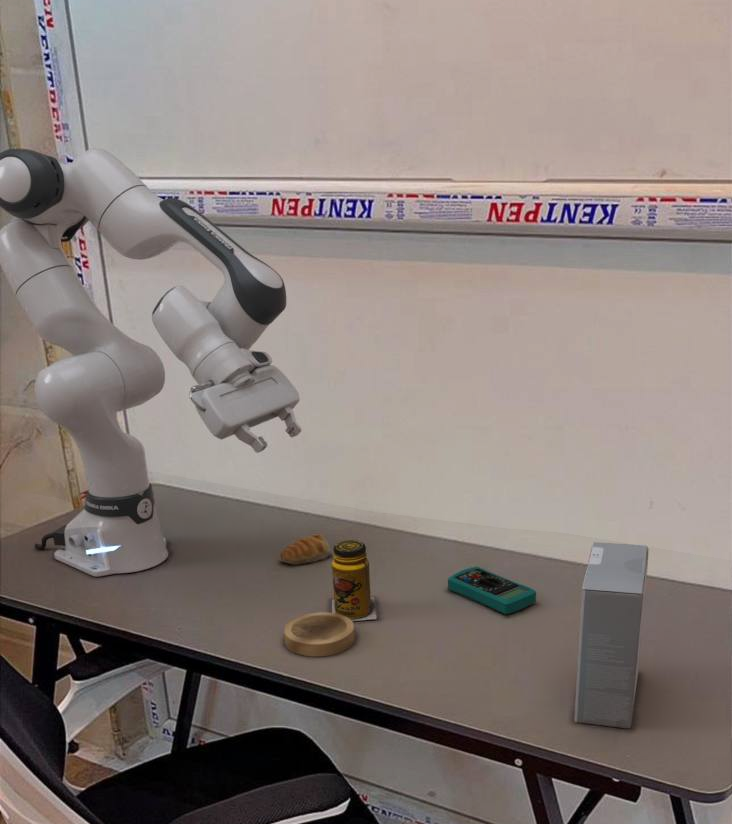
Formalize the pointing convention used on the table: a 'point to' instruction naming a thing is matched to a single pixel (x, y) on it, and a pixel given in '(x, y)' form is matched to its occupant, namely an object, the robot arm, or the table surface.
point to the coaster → (319, 634)
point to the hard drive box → (610, 634)
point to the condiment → (352, 582)
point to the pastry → (306, 550)
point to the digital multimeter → (491, 590)
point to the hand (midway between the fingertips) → (280, 441)
